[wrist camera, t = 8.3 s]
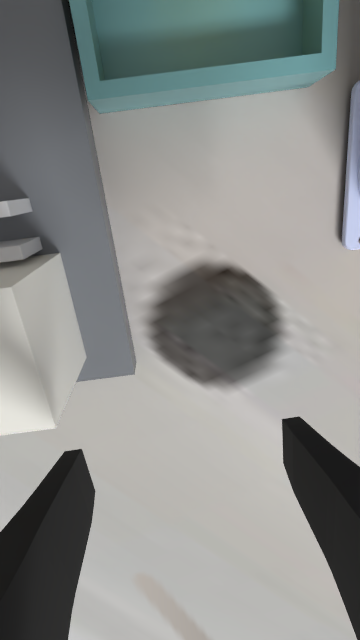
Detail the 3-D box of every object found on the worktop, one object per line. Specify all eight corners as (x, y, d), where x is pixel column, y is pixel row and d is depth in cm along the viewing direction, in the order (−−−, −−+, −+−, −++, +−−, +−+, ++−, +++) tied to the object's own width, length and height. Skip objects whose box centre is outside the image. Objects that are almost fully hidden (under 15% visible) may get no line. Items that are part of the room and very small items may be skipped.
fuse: (60, 252, 17) (11, 287, 12) (86, 357, 19) (56, 428, 14) (-20, 263, 17) (-107, 302, 11) (16, 366, 19) (-42, 440, 14)
